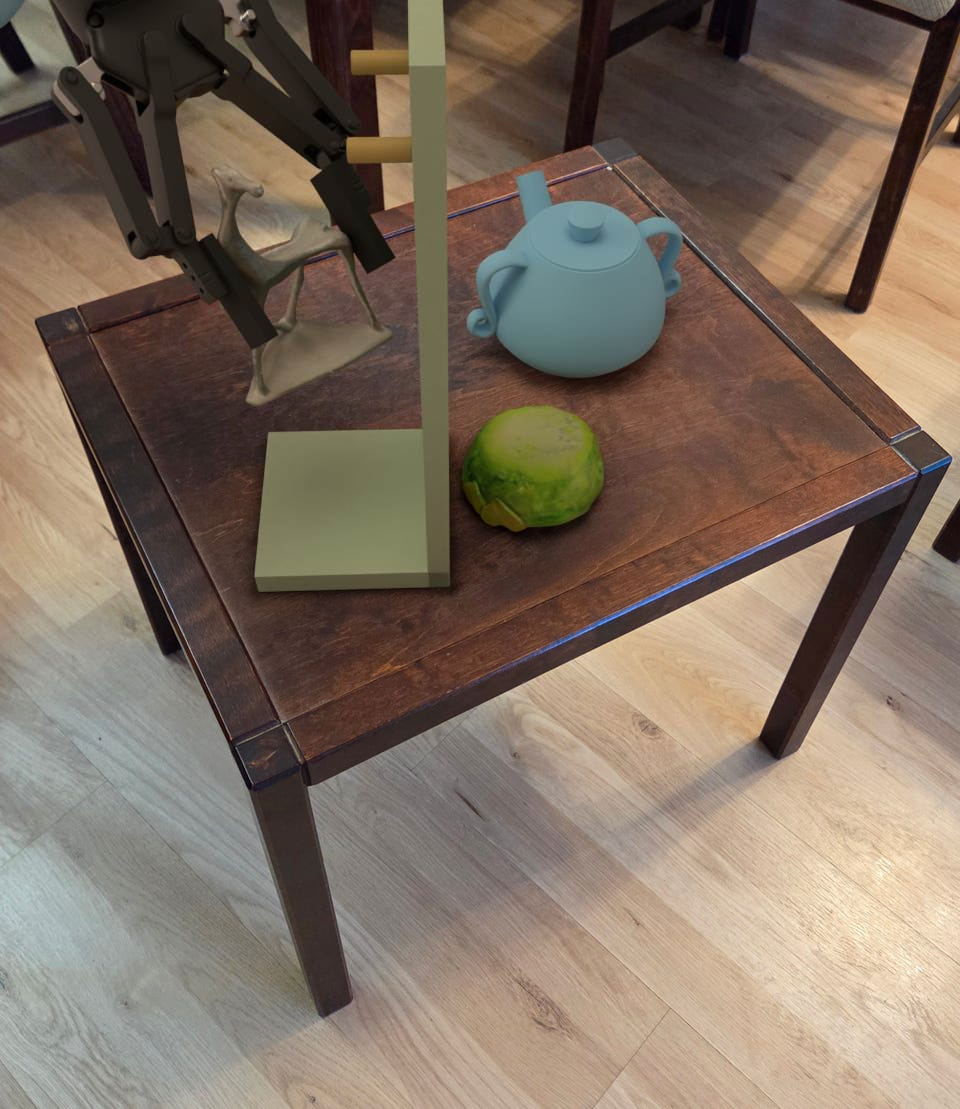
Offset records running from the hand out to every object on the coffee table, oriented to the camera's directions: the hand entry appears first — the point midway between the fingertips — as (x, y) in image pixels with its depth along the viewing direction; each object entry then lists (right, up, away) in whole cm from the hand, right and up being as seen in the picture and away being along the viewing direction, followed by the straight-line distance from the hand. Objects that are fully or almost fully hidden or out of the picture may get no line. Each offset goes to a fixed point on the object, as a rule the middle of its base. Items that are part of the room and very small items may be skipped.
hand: (325, 302), depth 63 cm
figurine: (-2, -2, +6) cm, 7 cm away
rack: (0, -12, +18) cm, 22 cm away
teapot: (+17, +6, +32) cm, 37 cm away
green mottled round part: (+14, -9, +21) cm, 26 cm away
